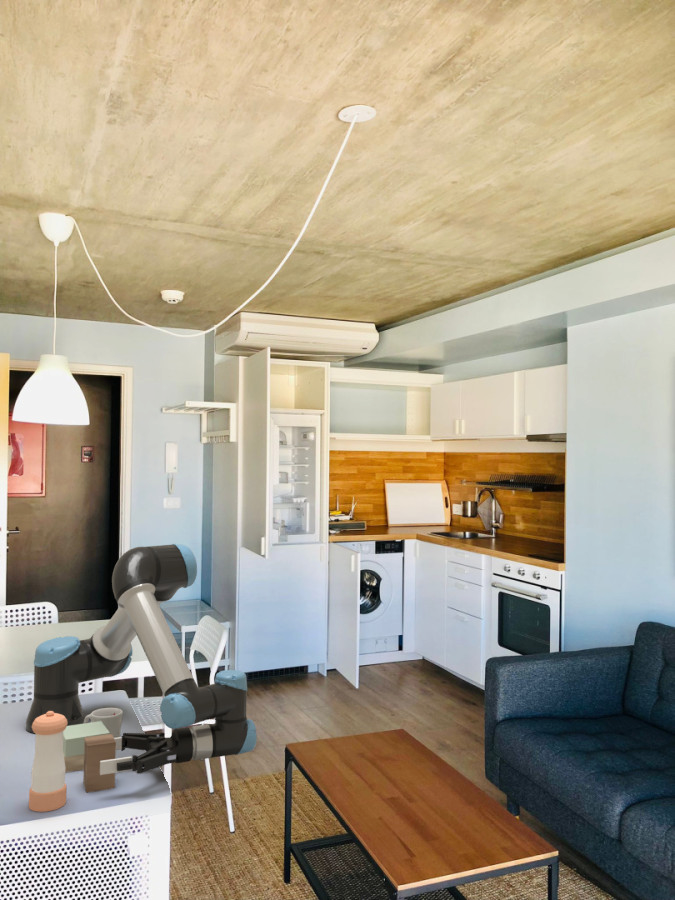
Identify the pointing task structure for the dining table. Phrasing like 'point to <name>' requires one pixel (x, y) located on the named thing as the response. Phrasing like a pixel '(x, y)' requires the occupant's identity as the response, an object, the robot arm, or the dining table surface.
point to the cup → (107, 719)
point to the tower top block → (80, 736)
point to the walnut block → (98, 762)
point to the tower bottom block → (74, 763)
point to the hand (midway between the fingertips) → (95, 757)
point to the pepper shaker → (48, 764)
